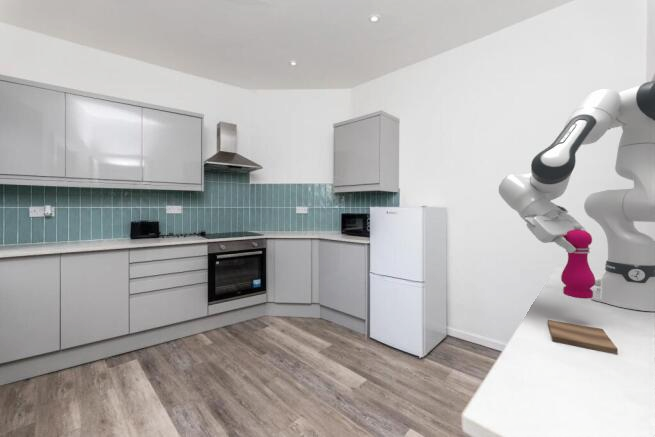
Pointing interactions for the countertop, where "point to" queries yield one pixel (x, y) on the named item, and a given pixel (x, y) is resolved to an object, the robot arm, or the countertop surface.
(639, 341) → the countertop surface
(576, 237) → the pepper mill
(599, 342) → the walnut board
